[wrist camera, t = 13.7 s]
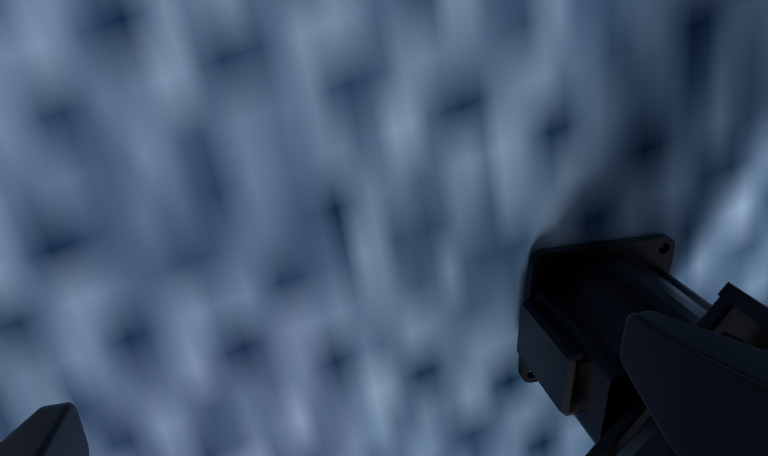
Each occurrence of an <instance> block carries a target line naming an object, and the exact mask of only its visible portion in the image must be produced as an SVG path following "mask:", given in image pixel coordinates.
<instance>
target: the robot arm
mask: <svg viewBox="0 0 768 456" xmlns="http://www.w3.org/2000/svg"><path fill="white" fill-rule="evenodd" d="M662 244H663V246H662V247H661V248H660V246H661V245H662ZM659 248H660V249H659ZM674 248H675V243H674V240H672V239H671V238H669V237H668V236H666V235H665V234H656V235H648V236H640V237H633V238H625V239H617V240H609V241H601V242H594V243H586V244H578V245H570V246H563V247H555V248H547V249H540V250H537V251H536V252H534V253H533V254H532V255H531V257H530V259H529V263H528V274H527V284H526V295H525V299H524V301H523V302H522V304H521V311H520V322H519V333H518V344H517V352H518V353H519V355H520V357H519V368H518V371H519V374H520V375H521V377H522V378H523V380H524V381H526V382H537V381H539V383H540V384H541V386H542V387H543V388H544V390H545V391H546V393H547V394H548V395H549V397H550V398H551V400H552V401H553V402H554V404H555V405H556V407H557V408H558V409H559V411H560V412H562V413H563V414H564V415H565V416H568V415H574V416H575V417H576V418H577V420H578V421H579V422H580V424H581V425H582V426H583V428H584V429H585V430H586V432H587V433H588V435H589V436H590V437H591V439H592V440H593V441H594V443H595V445H594V446H593V447H592V448H591V450H590V451H589V452H588V453H587V454H586V455H585V456H768V307H767V306H765V305H764V304H762V303H761V302H759V301H758V300H756V299H754V298H753V297H751V296H750V295H748V294H747V293H745V292H743V291H742V290H740V289H739V288H737V287H736V286H734V285H732V284H731V283H729V282H728V283H727V284H726V285H725V286H724V287H723V289H722V290H721V291H720V292H719V293H718V295H719V296H720V297H719V298H718V299H717V300H716V302H715V303H714V304H713V305H711V304H710V303H708V302H707V301H706V300H704V299H703V298H702V297H700V296H699V295H697V294H696V293H695V292H693V291H692V290H691V289H689V288H688V287H686V286H685V285H684V284H682V283H681V282H680V281H678V280H677V279H675V278H674V277H673V276H671V275H670V274H669V272H670V267H671V262H672V258H673V253H674ZM544 259H546V260H545V262H544V263H543V264H542V265H540V266H539V263H540V262H541V261H542V260H544ZM530 370H531V372H529V371H530ZM0 456H89V447H88V442H87V439H86V436H85V433H84V429H83V426H82V423H81V420H80V417H79V414H78V411H77V408H76V407H75V405H74V404H72V403H70V402H67V403H61V404H54V405H48V406H44V407H41V408H40V409H38V410H37V411H36V412H35V413H34V414H32V415H31V416H30V417H29V418H28V419H27V420H26V421H24V422H23V423H22V424H21V425H20V426H19V427H18V428H16V429H15V430H14V431H13V432H12V433H11V434H9V435H8V436H7V437H6V438H5V439H4V440H3V441H1V442H0Z"/></svg>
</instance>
